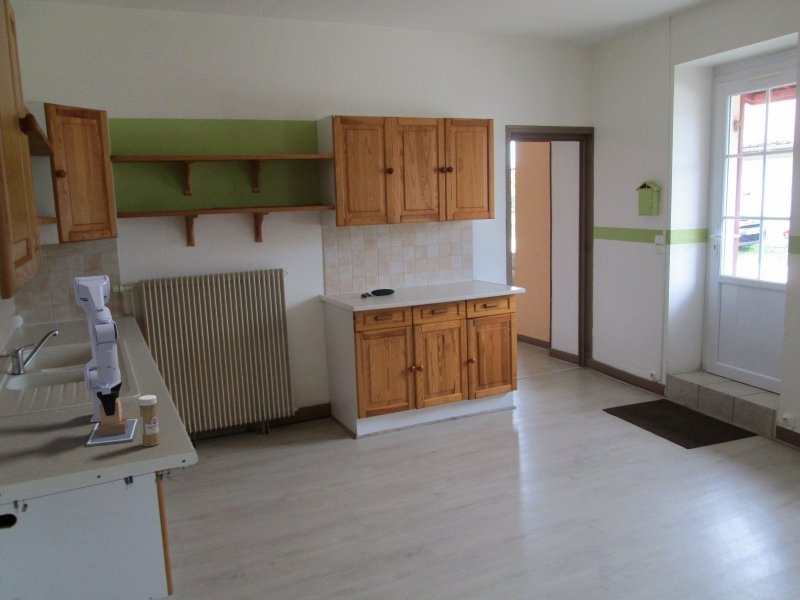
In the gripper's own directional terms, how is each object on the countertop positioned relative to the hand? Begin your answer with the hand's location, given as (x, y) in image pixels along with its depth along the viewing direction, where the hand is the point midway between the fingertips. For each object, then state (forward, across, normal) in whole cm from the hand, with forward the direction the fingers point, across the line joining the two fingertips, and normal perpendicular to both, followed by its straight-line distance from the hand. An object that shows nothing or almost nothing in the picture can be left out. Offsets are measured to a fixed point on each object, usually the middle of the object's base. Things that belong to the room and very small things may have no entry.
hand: (111, 411), depth 188 cm
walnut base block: (+6, 0, 0) cm, 6 cm away
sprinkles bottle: (+7, +13, +11) cm, 18 cm away
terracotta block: (+3, 0, 0) cm, 3 cm away
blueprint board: (+6, 0, 0) cm, 6 cm away
